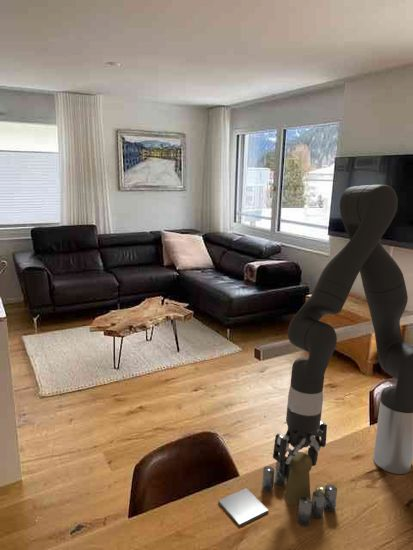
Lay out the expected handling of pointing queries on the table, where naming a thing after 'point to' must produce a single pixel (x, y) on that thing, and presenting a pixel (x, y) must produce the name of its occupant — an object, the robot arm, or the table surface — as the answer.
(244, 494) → the coaster
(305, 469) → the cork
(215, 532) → the table surface
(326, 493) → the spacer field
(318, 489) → the glossy gold bead
